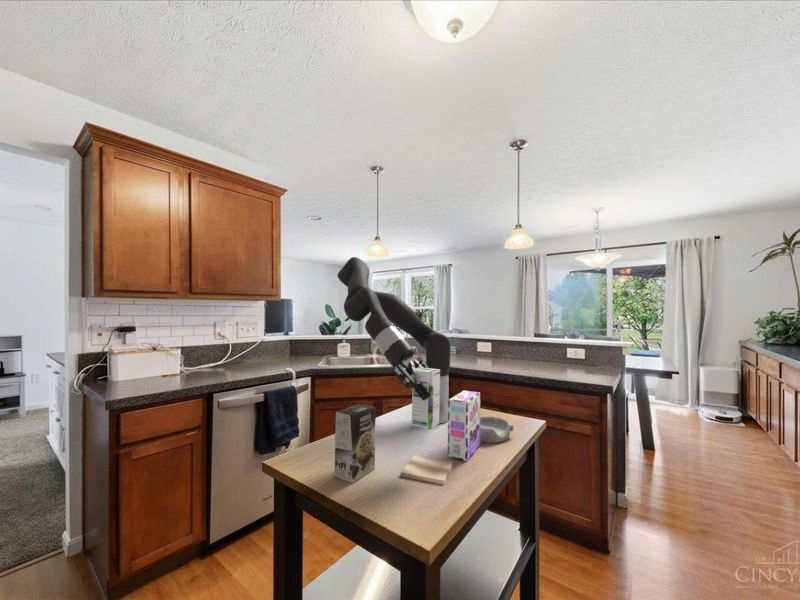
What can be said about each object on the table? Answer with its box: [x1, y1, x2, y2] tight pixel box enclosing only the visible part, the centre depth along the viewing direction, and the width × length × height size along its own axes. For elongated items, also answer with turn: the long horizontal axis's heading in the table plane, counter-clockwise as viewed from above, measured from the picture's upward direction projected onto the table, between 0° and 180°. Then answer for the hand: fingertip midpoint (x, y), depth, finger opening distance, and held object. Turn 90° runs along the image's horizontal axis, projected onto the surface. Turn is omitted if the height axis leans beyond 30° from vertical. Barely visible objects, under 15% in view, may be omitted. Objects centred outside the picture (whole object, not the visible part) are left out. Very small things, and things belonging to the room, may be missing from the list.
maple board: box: [400, 454, 454, 486], centre depth 86 cm, size 11×11×1 cm
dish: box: [480, 416, 514, 444], centre depth 111 cm, size 14×14×5 cm
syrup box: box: [411, 368, 440, 430], centre depth 87 cm, size 6×6×14 cm
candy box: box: [447, 390, 481, 462], centre depth 99 cm, size 14×6×16 cm, turn 151°
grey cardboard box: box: [333, 404, 377, 484], centre depth 85 cm, size 9×6×16 cm
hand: (432, 395), depth 86 cm, fingers closed on syrup box, 6 cm apart
